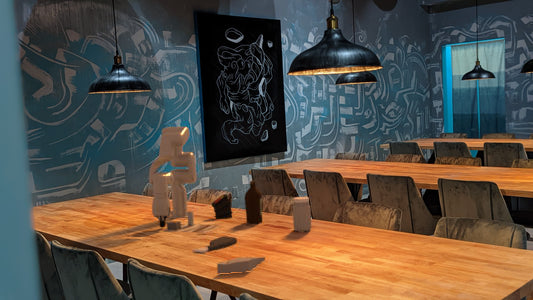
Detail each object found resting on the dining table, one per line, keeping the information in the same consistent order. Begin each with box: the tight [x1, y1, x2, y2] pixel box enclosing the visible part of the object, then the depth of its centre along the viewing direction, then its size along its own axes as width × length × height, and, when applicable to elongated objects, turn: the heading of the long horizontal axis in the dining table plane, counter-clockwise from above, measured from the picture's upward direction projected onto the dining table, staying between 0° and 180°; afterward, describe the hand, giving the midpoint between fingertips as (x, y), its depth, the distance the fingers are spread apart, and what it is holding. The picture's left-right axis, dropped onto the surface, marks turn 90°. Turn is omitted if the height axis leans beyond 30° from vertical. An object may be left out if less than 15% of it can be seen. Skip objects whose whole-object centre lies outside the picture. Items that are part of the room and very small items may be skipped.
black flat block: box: [211, 194, 233, 220], centre depth 347 cm, size 4×13×15 cm, turn 129°
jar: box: [292, 196, 312, 232], centre depth 302 cm, size 10×10×18 cm
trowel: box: [216, 256, 266, 275], centre depth 235 cm, size 28×16×5 cm, turn 138°
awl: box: [187, 210, 194, 226], centre depth 324 cm, size 3×3×8 cm
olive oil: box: [244, 180, 263, 225], centre depth 330 cm, size 11×11×25 cm
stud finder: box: [166, 220, 182, 230], centre depth 315 cm, size 6×5×5 cm
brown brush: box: [192, 236, 238, 254], centre depth 273 cm, size 3×11×25 cm
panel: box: [162, 223, 221, 236], centre depth 316 cm, size 28×20×1 cm
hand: (162, 226), depth 318 cm, fingers closed
